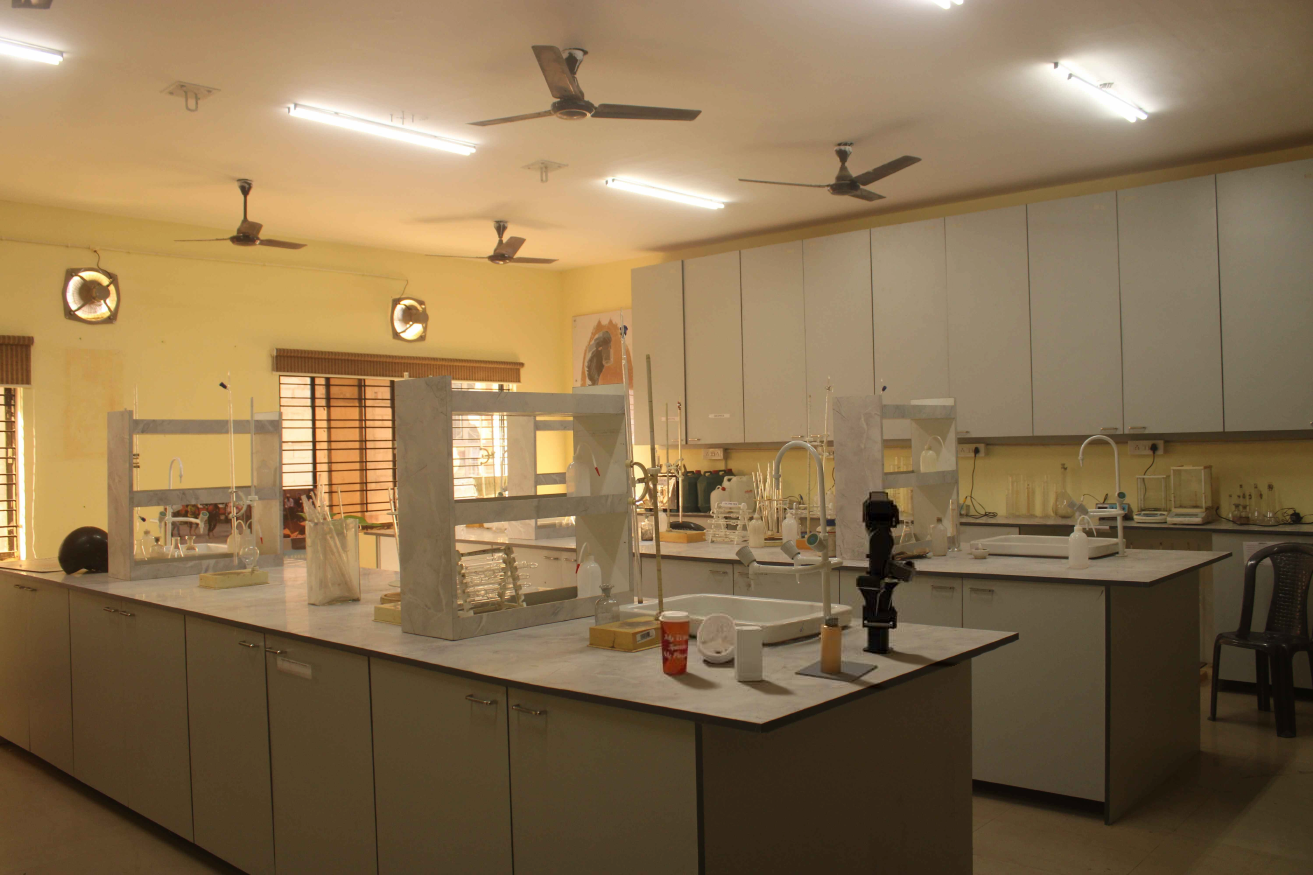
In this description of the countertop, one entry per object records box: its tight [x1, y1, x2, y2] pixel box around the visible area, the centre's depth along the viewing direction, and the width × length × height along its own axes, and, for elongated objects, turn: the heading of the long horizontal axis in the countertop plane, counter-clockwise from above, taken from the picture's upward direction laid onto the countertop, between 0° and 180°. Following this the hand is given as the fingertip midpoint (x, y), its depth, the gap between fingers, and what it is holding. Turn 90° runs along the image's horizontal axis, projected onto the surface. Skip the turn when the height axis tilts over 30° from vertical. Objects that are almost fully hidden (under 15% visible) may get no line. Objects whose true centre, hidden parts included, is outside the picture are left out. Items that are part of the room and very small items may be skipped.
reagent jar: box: [820, 615, 843, 674], centre depth 228 cm, size 5×5×13 cm
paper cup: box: [658, 610, 692, 676], centre depth 229 cm, size 8×8×14 cm
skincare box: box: [733, 625, 763, 682], centre depth 222 cm, size 6×4×12 cm
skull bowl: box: [696, 613, 737, 664], centre depth 243 cm, size 10×14×12 cm
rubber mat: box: [794, 659, 878, 683], centre depth 232 cm, size 18×14×1 cm
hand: (880, 612), depth 237 cm, fingers open, 9 cm apart
